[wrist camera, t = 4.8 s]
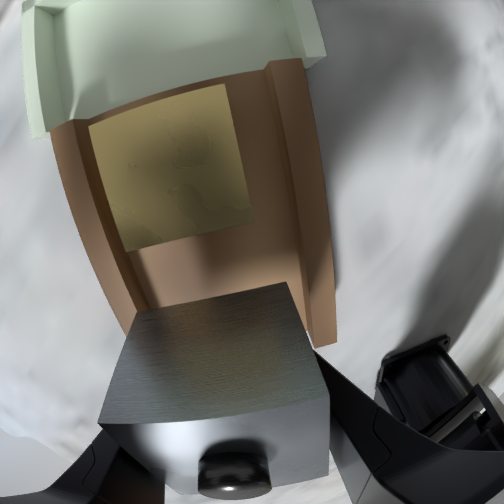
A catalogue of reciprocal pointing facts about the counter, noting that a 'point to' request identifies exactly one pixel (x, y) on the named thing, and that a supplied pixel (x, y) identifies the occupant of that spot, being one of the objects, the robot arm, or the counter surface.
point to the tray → (149, 49)
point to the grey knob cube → (222, 395)
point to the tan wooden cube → (172, 168)
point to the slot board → (229, 239)
